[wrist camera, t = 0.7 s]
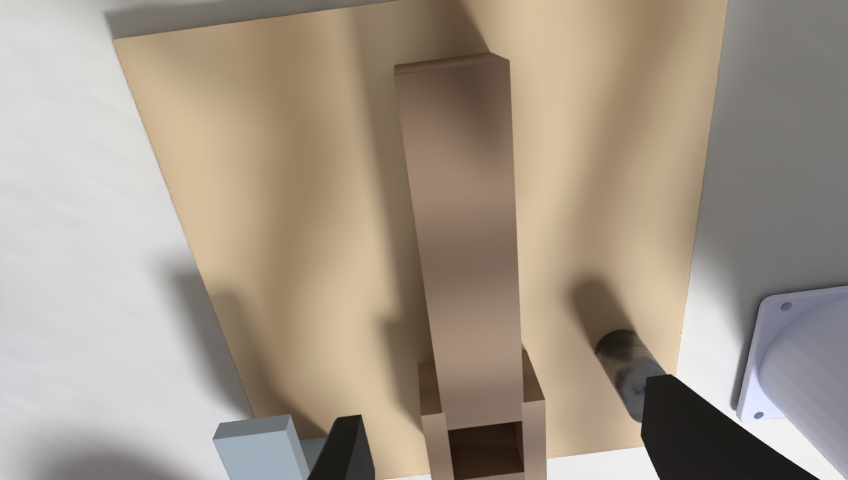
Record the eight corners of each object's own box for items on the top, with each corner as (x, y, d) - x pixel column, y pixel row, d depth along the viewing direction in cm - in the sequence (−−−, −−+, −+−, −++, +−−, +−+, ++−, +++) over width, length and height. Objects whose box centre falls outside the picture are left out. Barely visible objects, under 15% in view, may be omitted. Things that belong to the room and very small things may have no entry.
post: (642, 326, 22) (684, 380, 19) (639, 363, 23) (678, 420, 20) (596, 332, 22) (629, 387, 19) (594, 368, 23) (626, 427, 20)
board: (720, -44, 16) (734, -46, 16) (658, 431, 26) (666, 443, 26) (123, 38, 17) (111, 39, 16) (286, 479, 27) (283, 492, 26)
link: (529, 429, 25) (546, 483, 22) (430, 441, 25) (434, 498, 22) (515, 48, 17) (540, 56, 14) (369, 68, 17) (363, 80, 14)
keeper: (306, 353, 22) (286, 430, 18) (337, 460, 25) (326, 547, 21) (246, 360, 22) (212, 439, 18) (285, 467, 25) (263, 555, 21)
